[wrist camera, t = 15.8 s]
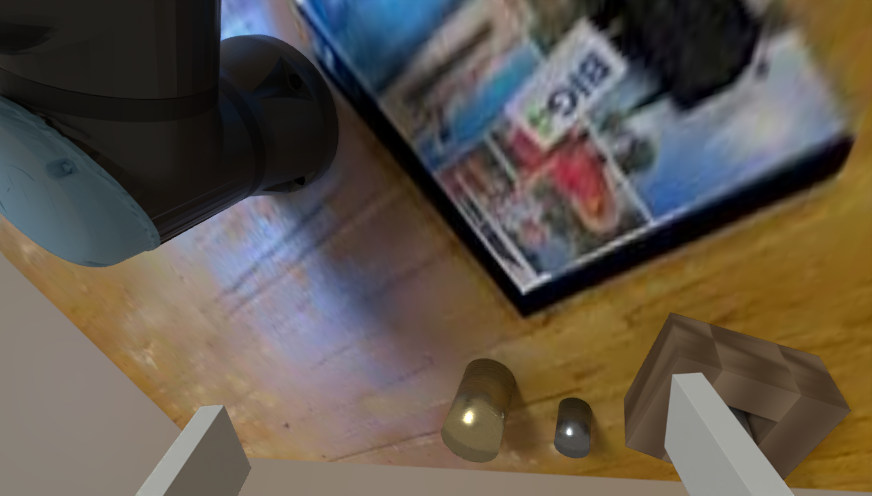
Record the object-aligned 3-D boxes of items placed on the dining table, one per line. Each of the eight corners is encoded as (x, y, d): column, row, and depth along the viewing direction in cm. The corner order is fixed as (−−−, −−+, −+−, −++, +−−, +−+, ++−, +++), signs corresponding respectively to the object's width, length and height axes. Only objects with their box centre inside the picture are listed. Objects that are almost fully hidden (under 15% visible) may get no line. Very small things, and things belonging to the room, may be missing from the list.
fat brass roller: (461, 386, 53) (437, 448, 46) (470, 351, 50) (445, 411, 43) (509, 404, 52) (492, 470, 45) (520, 369, 49) (504, 434, 41)
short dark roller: (555, 413, 50) (550, 449, 46) (563, 393, 48) (559, 429, 44) (585, 424, 49) (583, 462, 45) (595, 404, 48) (594, 442, 43)
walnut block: (623, 398, 46) (625, 446, 41) (670, 312, 40) (679, 356, 35) (747, 441, 43) (765, 498, 38) (818, 356, 37) (851, 410, 32)
